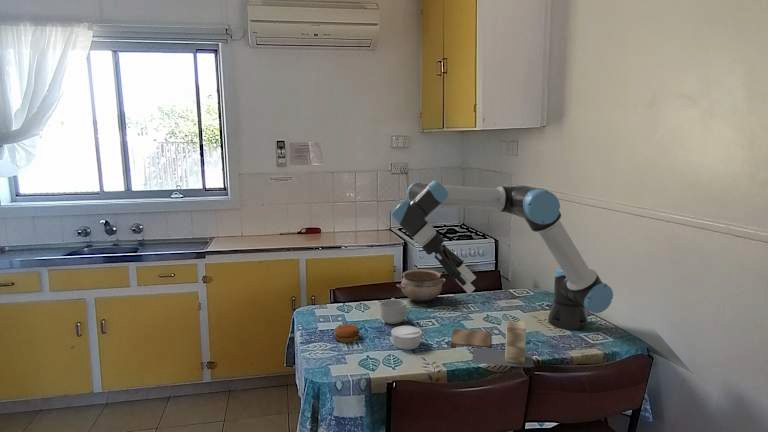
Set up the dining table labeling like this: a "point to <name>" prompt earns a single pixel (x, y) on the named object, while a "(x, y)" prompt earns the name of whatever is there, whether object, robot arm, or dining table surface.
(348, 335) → the burger
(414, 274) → the cooking pot
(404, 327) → the ramekin
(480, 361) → the mat
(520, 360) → the maple block
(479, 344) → the walnut board
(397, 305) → the teacup
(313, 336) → the dining table surface
